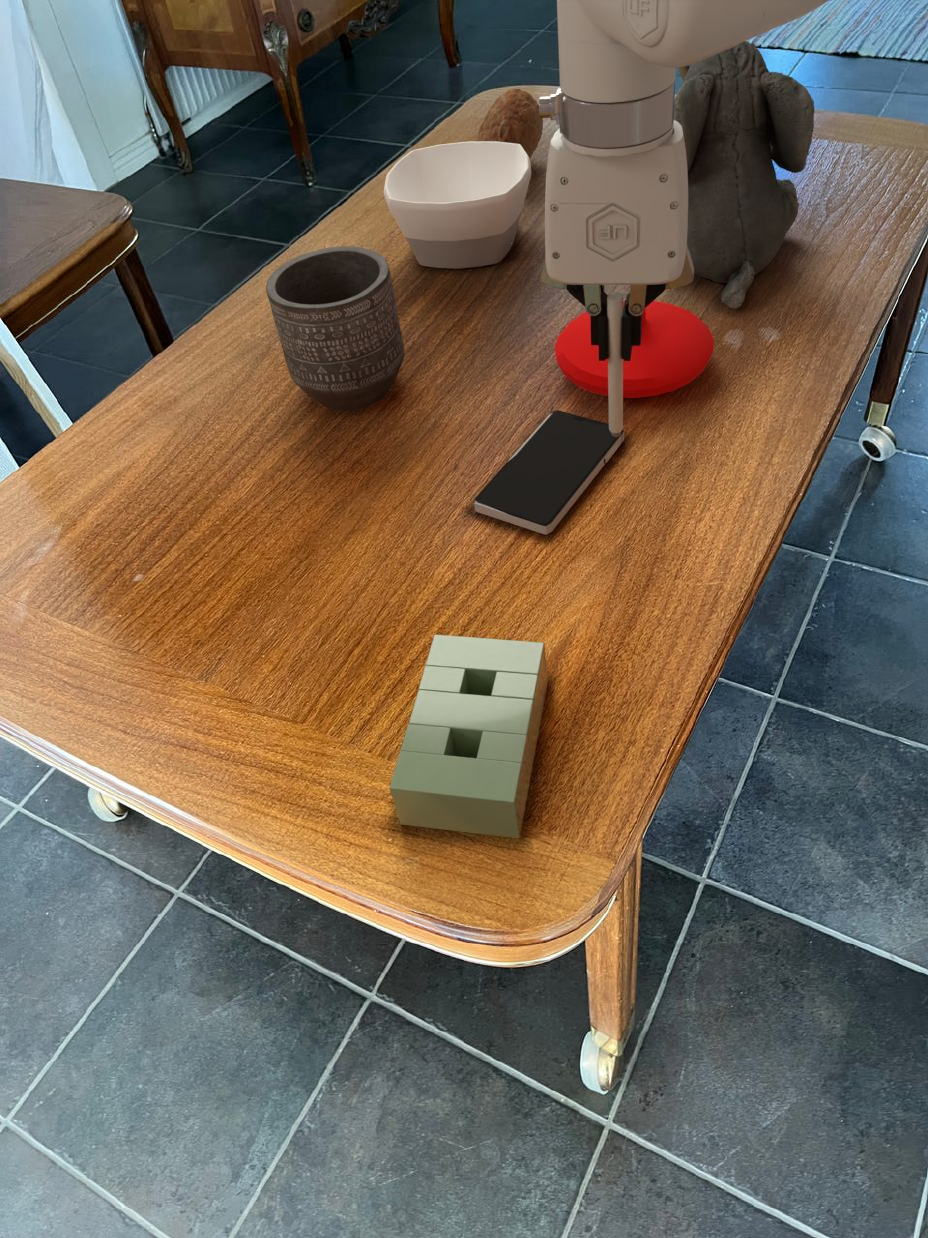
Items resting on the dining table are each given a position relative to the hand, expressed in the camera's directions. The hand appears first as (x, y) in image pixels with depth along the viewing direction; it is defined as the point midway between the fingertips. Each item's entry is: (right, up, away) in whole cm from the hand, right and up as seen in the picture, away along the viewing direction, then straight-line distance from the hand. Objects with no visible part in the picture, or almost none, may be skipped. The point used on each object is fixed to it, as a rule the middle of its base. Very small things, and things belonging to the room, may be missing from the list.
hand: (616, 350), depth 78 cm
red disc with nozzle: (+5, +4, +21) cm, 21 cm away
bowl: (-12, +25, +43) cm, 51 cm away
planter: (-24, +3, +24) cm, 34 cm away
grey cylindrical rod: (+1, -6, +6) cm, 9 cm away
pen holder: (-11, -31, -9) cm, 34 cm away
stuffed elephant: (+17, +21, +34) cm, 44 cm away
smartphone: (-4, -9, +11) cm, 14 cm away
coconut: (-6, +41, +57) cm, 70 cm away
